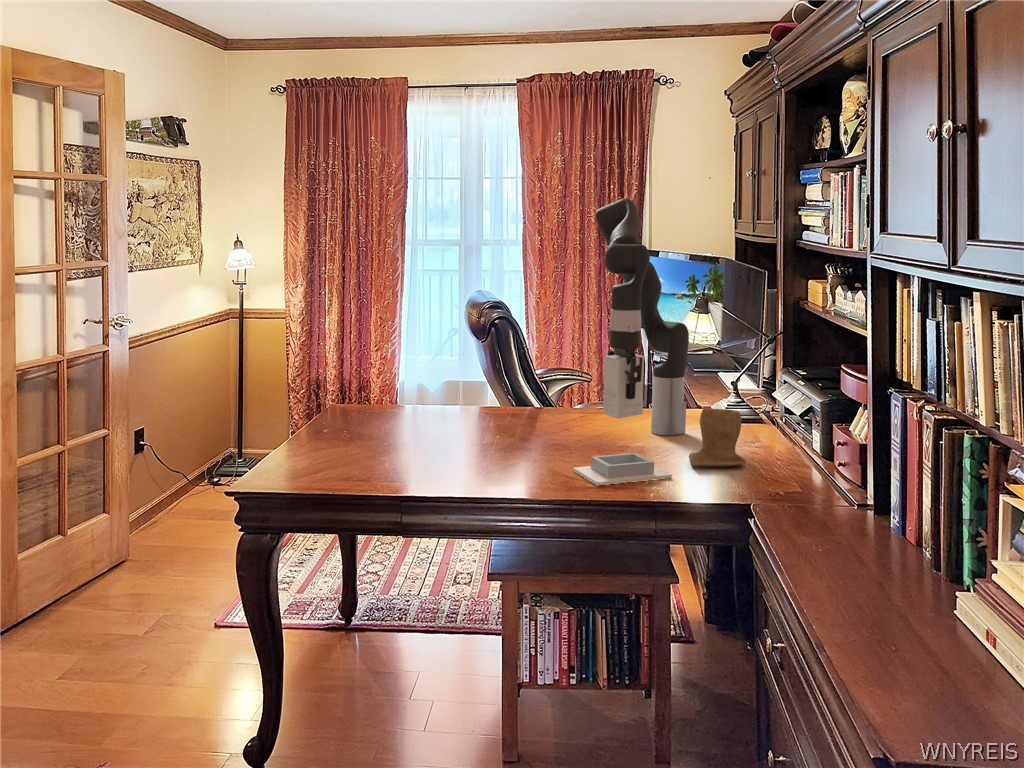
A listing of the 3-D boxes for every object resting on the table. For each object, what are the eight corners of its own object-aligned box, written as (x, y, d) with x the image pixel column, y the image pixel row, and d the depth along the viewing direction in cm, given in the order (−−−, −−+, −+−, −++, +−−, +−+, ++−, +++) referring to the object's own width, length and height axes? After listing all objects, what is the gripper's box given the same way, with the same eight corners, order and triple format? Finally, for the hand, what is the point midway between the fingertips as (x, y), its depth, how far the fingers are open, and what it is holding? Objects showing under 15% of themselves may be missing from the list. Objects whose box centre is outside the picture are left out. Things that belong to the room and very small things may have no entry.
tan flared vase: (734, 458, 237) (736, 403, 235) (751, 470, 226) (753, 412, 223) (678, 460, 235) (680, 404, 233) (692, 471, 224) (695, 413, 221)
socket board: (644, 464, 230) (644, 449, 230) (671, 478, 217) (672, 462, 217) (573, 471, 224) (573, 455, 223) (597, 486, 211) (597, 469, 210)
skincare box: (627, 411, 223) (629, 352, 220) (644, 415, 218) (645, 355, 215) (601, 415, 218) (602, 354, 216) (617, 419, 213) (619, 357, 211)
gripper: (598, 325, 220) (597, 392, 223) (624, 332, 207) (623, 402, 209) (625, 324, 222) (624, 390, 225) (653, 330, 209) (651, 400, 212)
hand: (623, 396), depth 217 cm, fingers closed on skincare box, 6 cm apart
